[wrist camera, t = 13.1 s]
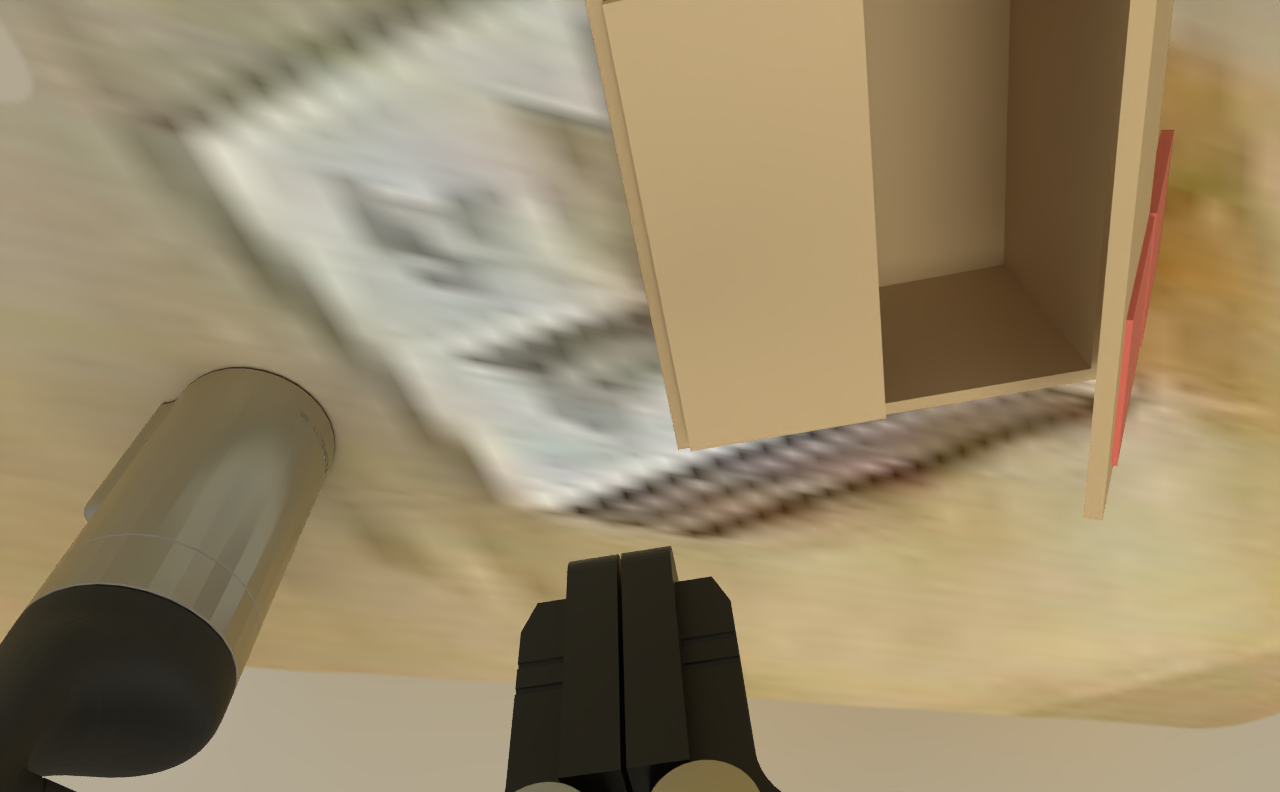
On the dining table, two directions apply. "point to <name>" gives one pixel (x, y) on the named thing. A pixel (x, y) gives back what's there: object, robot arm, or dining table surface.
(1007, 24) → the carton
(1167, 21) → the flap
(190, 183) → the dining table surface
